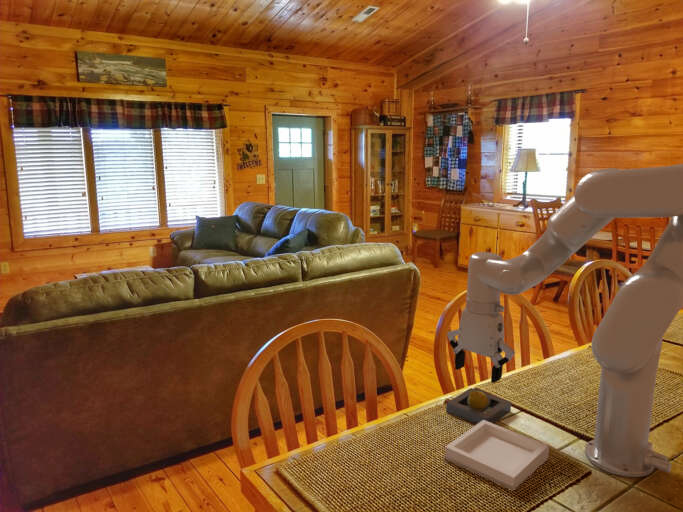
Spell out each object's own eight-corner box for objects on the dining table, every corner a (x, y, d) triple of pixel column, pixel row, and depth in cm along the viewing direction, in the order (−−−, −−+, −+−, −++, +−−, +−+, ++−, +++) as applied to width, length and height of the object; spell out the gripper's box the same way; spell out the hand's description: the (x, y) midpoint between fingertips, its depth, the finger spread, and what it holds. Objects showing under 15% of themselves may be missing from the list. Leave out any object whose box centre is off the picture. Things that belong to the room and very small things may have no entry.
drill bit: (496, 412, 130) (485, 398, 123) (475, 419, 131) (463, 405, 124) (489, 392, 133) (478, 377, 126) (468, 399, 135) (457, 384, 128)
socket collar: (510, 411, 129) (511, 401, 129) (487, 428, 122) (487, 418, 121) (470, 396, 137) (470, 387, 136) (446, 412, 129) (446, 402, 129)
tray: (548, 458, 110) (549, 445, 109) (513, 492, 99) (513, 477, 99) (482, 432, 120) (483, 419, 120) (444, 459, 110) (445, 446, 109)
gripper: (525, 311, 121) (518, 381, 125) (459, 294, 132) (454, 359, 136) (509, 319, 115) (502, 391, 119) (441, 301, 127) (437, 367, 131)
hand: (477, 374), depth 128 cm, fingers open, 9 cm apart
